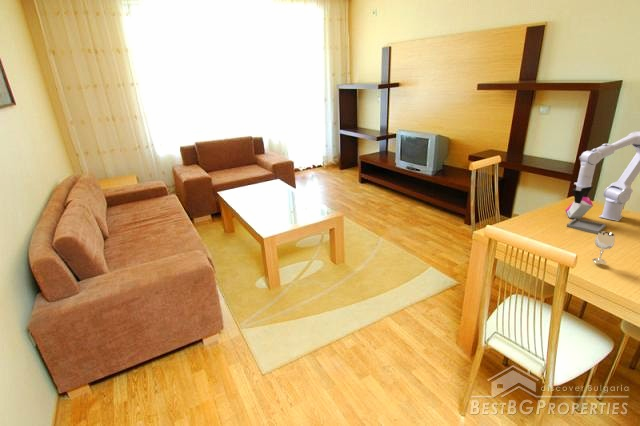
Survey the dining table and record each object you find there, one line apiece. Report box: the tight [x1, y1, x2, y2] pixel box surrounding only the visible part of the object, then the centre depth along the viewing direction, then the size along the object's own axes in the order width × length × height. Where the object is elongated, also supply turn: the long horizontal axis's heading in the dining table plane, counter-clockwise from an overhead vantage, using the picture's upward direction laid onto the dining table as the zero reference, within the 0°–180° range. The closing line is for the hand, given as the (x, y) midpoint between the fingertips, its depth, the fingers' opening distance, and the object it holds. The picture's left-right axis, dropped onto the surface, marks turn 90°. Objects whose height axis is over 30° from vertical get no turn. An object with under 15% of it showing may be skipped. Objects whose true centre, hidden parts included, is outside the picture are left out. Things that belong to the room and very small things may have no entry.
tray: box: [566, 218, 607, 235], centre depth 167 cm, size 13×13×2 cm
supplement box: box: [565, 196, 594, 220], centre depth 174 cm, size 6×6×12 cm
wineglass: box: [592, 230, 615, 265], centre depth 133 cm, size 6×6×12 cm
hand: (579, 201), depth 172 cm, fingers open, 7 cm apart
